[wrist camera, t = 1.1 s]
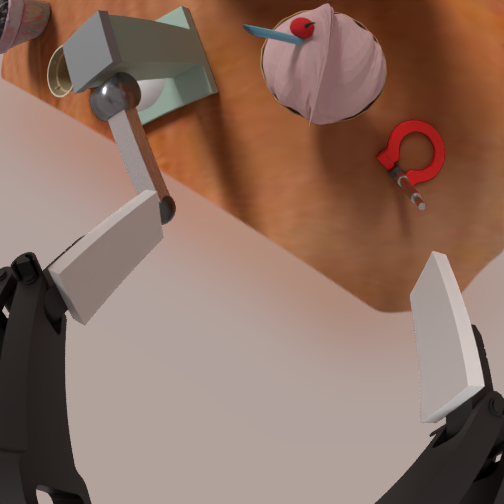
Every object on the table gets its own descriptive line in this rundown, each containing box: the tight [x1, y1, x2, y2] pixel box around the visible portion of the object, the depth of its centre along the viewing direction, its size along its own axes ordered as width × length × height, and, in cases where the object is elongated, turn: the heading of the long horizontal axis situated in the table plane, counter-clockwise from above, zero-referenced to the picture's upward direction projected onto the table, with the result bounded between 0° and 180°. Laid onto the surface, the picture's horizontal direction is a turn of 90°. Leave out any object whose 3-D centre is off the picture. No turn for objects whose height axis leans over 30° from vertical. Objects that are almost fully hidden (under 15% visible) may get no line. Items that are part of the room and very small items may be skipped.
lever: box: [90, 72, 176, 225], centre depth 22 cm, size 16×3×4 cm, turn 18°
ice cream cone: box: [243, 3, 387, 127], centre depth 20 cm, size 11×11×20 cm
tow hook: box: [376, 120, 445, 210], centre depth 25 cm, size 8×13×9 cm
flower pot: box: [47, 46, 74, 98], centre depth 30 cm, size 9×9×9 cm
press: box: [62, 6, 218, 126], centre depth 25 cm, size 15×17×19 cm
